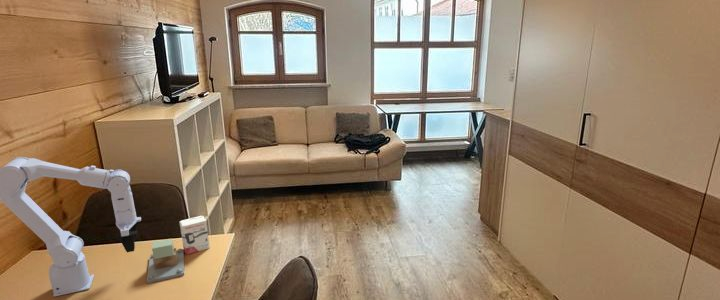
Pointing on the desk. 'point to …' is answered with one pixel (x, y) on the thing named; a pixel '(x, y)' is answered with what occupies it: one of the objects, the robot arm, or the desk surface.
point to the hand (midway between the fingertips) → (131, 245)
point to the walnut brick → (166, 261)
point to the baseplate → (166, 269)
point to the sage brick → (163, 248)
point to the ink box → (194, 234)
